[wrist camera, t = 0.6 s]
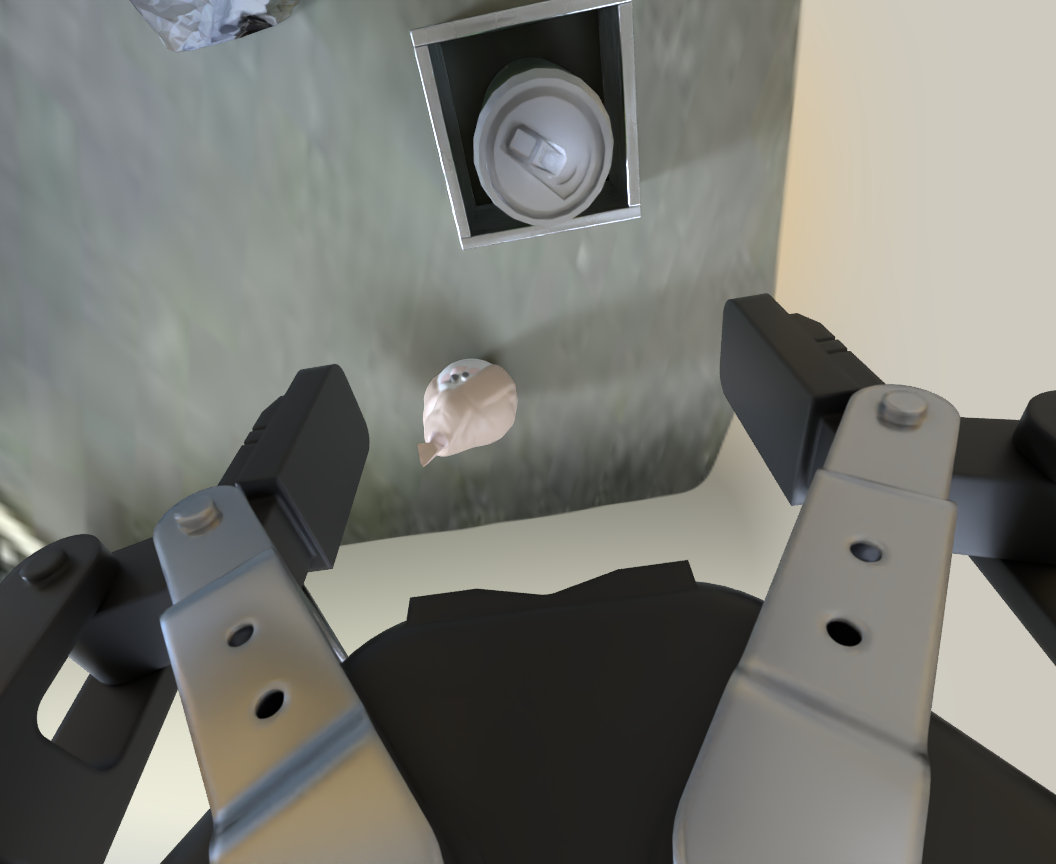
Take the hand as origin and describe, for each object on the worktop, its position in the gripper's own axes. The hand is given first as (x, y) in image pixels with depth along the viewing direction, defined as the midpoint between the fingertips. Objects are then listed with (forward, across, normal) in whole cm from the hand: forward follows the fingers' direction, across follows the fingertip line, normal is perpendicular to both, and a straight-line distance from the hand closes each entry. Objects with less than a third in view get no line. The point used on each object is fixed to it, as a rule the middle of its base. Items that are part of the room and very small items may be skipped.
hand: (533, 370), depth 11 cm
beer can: (+24, -1, -2) cm, 24 cm away
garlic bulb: (+24, +6, +14) cm, 29 cm away
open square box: (+24, -1, -2) cm, 24 cm away
